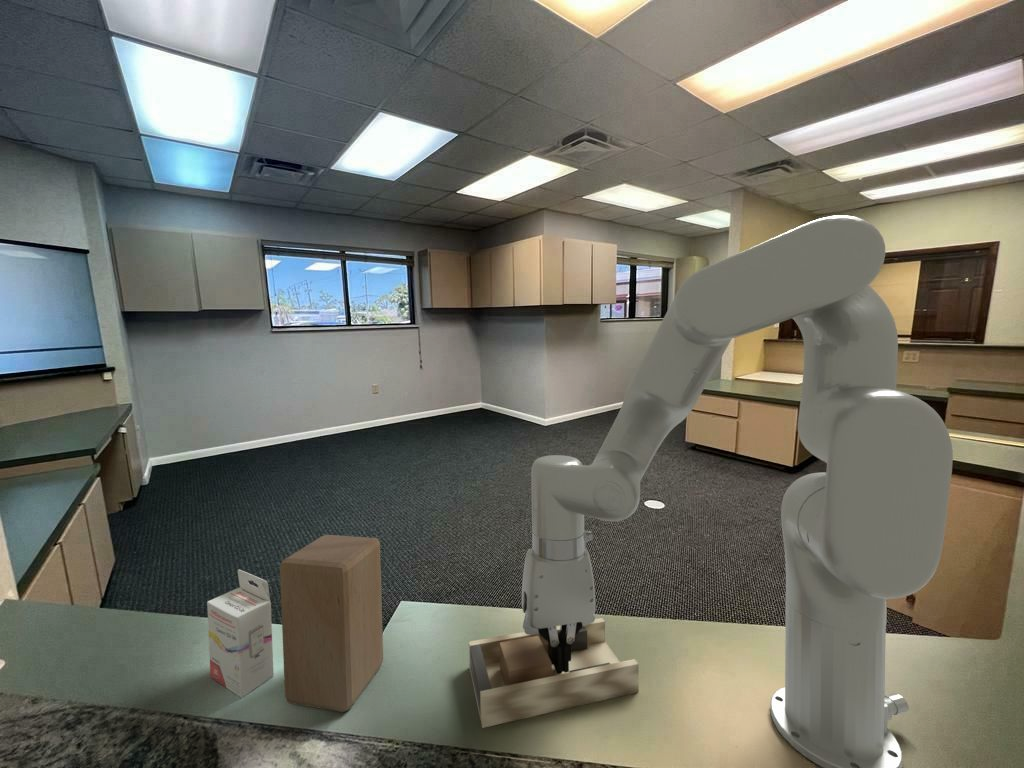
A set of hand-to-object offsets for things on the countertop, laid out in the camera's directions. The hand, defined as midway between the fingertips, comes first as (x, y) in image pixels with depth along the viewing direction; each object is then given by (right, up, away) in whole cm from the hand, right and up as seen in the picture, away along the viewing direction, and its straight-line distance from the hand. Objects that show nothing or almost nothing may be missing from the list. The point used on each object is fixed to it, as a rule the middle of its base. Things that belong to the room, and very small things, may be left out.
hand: (559, 666), depth 61 cm
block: (-32, -2, 0) cm, 32 cm away
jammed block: (-5, -2, -1) cm, 6 cm away
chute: (-1, -2, 0) cm, 2 cm away
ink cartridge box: (-47, -3, +1) cm, 47 cm away
